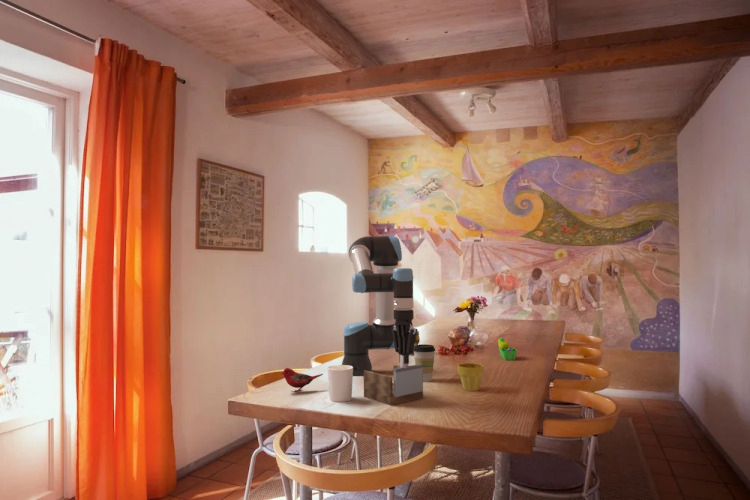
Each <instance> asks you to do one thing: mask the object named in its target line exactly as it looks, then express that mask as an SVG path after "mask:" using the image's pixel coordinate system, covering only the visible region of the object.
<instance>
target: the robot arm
mask: <svg viewBox="0 0 750 500" xmlns="http://www.w3.org/2000/svg"><path fill="white" fill-rule="evenodd" d="M401 245H402V244H401V242H400V239H399V238H398V237H397V236H392V235H390V236H389V235H382V236H381V235H380V236H379V235H377V236H363V237H359V238H358V239H356V240H355V241H353V243H352V244H351V245H350V247H349V248H348V258H349V260H350V261H351V262H352V266H353V270H354V273H353V274H352V276H351V288H352V292H353V293H360V294H364V293H367V294H369V293H370V294H371V293H375V294H376V295H375V296H376V299H375V301H376V302H375V305H376V307H375V308H376V309H375V318H374V319H372V324H369V322H368V321H359V322H358V321H357V322H353V323H349V324H346V325H345V326H344V327H343V344H344V345H343V359H342V362H341V365H349V366H352V367H353V376H364V371H365V370H367V371H371V372H373V365H372V362H371V360H370V355H369V351H370V350H392V349H394V351H395V353H397V354H398V355H399V357H398V358H399V359H398V360H399V366H400V368H401V367H407V366H409V364H410V355H409V354H412V353H413V349H414V343H415V336H416V333H417V331H419V330H418V328H415V327H413V326H414V325H413V320H414V314H415V312H414V273H413V269H412V268H409V267H406V268H404V267H403V268H397V267H398V266H399V262H401V261H402V260H403V253H402V246H401ZM371 262H372V263H373V266H374V267H375V269H376V272H375V273H374V270H373V266H372V263H371ZM414 328H415V329H414Z"/></svg>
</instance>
